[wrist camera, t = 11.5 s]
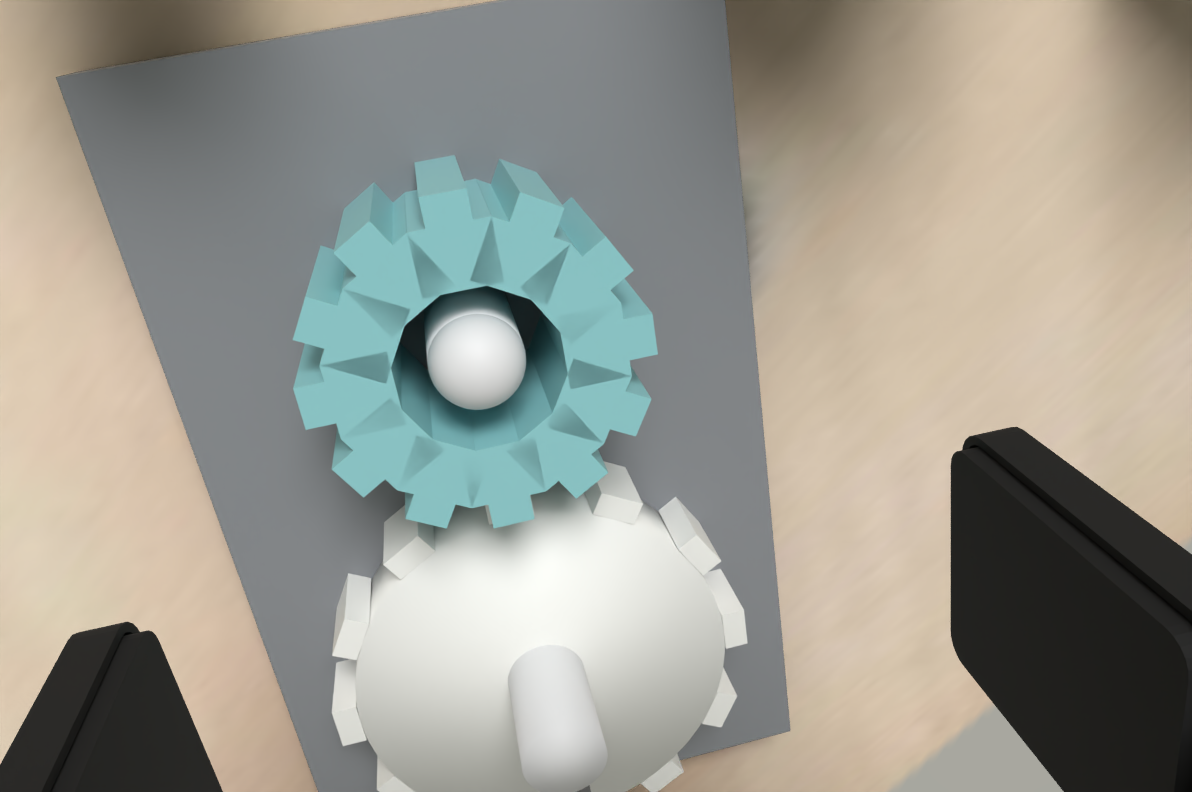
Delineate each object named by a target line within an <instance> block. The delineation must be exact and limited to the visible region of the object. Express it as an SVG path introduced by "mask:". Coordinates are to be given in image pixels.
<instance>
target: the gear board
mask: <svg viewBox="0 0 1192 792" xmlns="http://www.w3.org/2000/svg"><path fill="white" fill-rule="evenodd" d="M56 79H57V82H58V84H59V87H60V90H61V93H62V95H63V98H64V101H65V103H66V106H67V109H68V112H69V114H70V117H71V120H72V122H73V125H74V128H75V131H76V133H77V136H78V139H79V142H80V144H81V147H82V150H83V152H84V155H85V158H86V161H87V163H88V166H89V169H90V172H91V174H92V177H93V180H94V182H95V185H96V188H97V191H98V193H99V196H100V199H101V201H102V204H103V207H104V210H105V212H106V215H107V218H108V221H109V223H110V226H111V229H112V231H113V234H114V237H115V240H116V242H117V245H118V248H119V251H120V253H121V256H122V259H123V261H124V264H125V267H126V270H127V272H128V275H129V278H130V280H131V283H132V286H133V289H134V291H135V294H136V297H137V300H138V302H139V305H140V308H141V310H142V313H143V316H144V319H145V321H146V324H147V327H148V329H149V332H150V335H151V338H152V340H153V343H154V346H155V349H156V351H157V354H158V357H159V359H160V362H161V365H162V368H163V370H164V373H165V376H166V379H167V381H168V384H169V387H170V389H171V392H172V395H173V398H174V400H175V403H176V406H177V408H178V411H179V414H180V417H181V419H182V422H183V425H184V428H185V430H186V433H187V436H188V438H189V441H190V444H191V447H192V449H193V452H194V455H195V458H196V460H197V463H198V466H199V468H200V471H201V474H202V477H203V479H204V482H205V485H206V487H207V490H208V493H209V496H210V498H211V501H212V504H213V507H214V509H215V512H216V515H217V517H218V520H219V523H220V526H221V528H222V531H223V534H224V536H225V539H226V542H227V545H228V547H229V550H230V553H231V556H232V558H233V561H234V564H235V566H236V569H237V572H238V575H239V577H240V580H241V583H242V586H243V588H244V591H245V594H246V596H247V599H248V602H249V605H250V607H251V610H252V613H253V615H254V618H255V621H256V624H257V626H258V629H259V632H260V635H261V637H262V640H263V643H264V645H265V648H266V651H267V654H268V656H269V659H270V662H271V665H272V667H273V670H274V673H275V675H276V678H277V681H278V684H279V686H280V689H281V692H282V694H283V697H284V700H285V703H286V705H287V708H288V711H289V714H290V716H291V719H292V722H293V724H294V727H295V730H296V733H297V735H298V738H299V741H300V743H301V746H302V749H303V752H304V754H305V757H306V760H307V763H308V765H309V768H310V771H311V773H312V776H313V779H314V782H315V784H316V787H317V790H318V792H626V791H628V790H630V789H631V788H633V787H635V786H637V785H639V784H640V783H641V784H642V785H643V786H644V787H645V788H646V789H648V790H649V791H650V792H658V791H659V790H661V789H662V788H663V787H665V786H666V785H667V784H668V783H670V782H671V781H672V780H674V779H675V778H676V777H678V776H679V775H680V774H682V773H683V772H684V770H683V768H682V765H681V762H680V760H683V759H687V758H690V757H694V756H698V755H702V754H705V753H709V752H713V751H717V750H720V749H724V748H728V747H732V746H736V745H739V744H743V743H747V742H751V741H754V740H758V739H762V738H766V737H769V736H773V735H777V734H781V733H784V732H788V731H790V720H789V709H788V698H787V687H786V676H785V665H784V653H783V642H782V631H781V620H780V609H779V598H778V586H777V575H776V564H775V553H774V542H773V531H772V519H771V508H770V497H769V486H768V475H767V464H766V452H765V441H764V430H763V419H762V408H761V397H760V385H759V374H758V363H757V352H756V341H755V330H754V319H753V307H752V296H751V285H750V274H749V263H748V252H747V240H746V229H745V218H744V207H743V196H742V185H741V173H740V162H739V151H738V140H737V129H736V118H735V106H734V95H733V84H732V73H731V62H730V51H729V39H728V28H727V17H726V6H725V0H497V1H491V2H485V3H479V4H473V5H467V6H462V7H456V8H450V9H444V10H438V11H432V12H426V13H420V14H415V15H409V16H403V17H397V18H391V19H385V20H379V21H373V22H368V23H362V24H356V25H350V26H344V27H338V28H332V29H326V30H321V31H315V32H309V33H303V34H297V35H291V36H285V37H279V38H274V39H268V40H262V41H256V42H250V43H244V44H238V45H232V46H227V47H221V48H215V49H209V50H203V51H197V52H191V53H185V54H180V55H174V56H168V57H162V58H156V59H150V60H144V61H138V62H133V63H127V64H121V65H115V66H109V67H103V68H97V69H91V70H86V71H80V72H75V73H71V74H67V75H63V76H59V77H56ZM452 155H455V157H456V160H457V163H458V166H459V169H460V171H461V174H462V177H463V180H464V181H467V180H472V179H478V180H480V181H483V182H486V183H489V184H491V181H492V178H493V176H494V173H495V170H496V167H497V164H498V161H499V159H502V160H504V161H507V162H510V163H513V164H515V165H518V166H521V167H524V168H527V169H529V170H532V171H535V172H537V173H538V174H539V176H540V177H541V178H542V180H543V181H544V182H545V183H546V185H547V186H548V187H549V189H550V190H551V191H552V192H553V194H554V195H555V196H556V197H557V199H558V200H559V201H560V203H561V204H562V205H563V204H564V203H565V202H566V201H567V200H569V199H570V198H571V197H572V198H573V199H574V200H575V201H576V202H577V204H578V205H579V206H580V207H581V208H582V209H583V211H584V212H585V213H586V214H587V215H588V216H589V217H590V219H591V220H592V221H593V222H594V223H595V224H596V226H597V227H598V228H599V229H600V230H601V231H602V233H603V234H604V235H605V236H606V237H607V238H608V240H609V241H610V242H611V243H612V245H613V246H614V247H615V248H616V249H617V251H618V252H619V253H620V254H621V256H622V257H623V258H624V259H625V260H626V262H627V263H628V264H629V265H630V266H631V268H632V269H633V270H634V271H633V272H631V273H630V274H629V275H628V276H627V277H625V280H626V281H627V282H628V283H629V285H630V286H631V287H632V288H633V290H634V291H635V292H636V293H637V295H638V296H639V297H640V298H641V300H642V301H643V302H644V303H645V305H646V306H647V307H648V308H649V310H650V311H651V312H652V314H653V321H654V329H655V336H656V344H657V351H658V354H657V355H652V356H648V357H643V358H639V359H634V360H630V365H631V367H632V369H633V370H634V372H635V373H636V375H637V376H638V378H639V380H640V381H641V383H642V384H643V386H644V388H645V389H646V391H647V392H648V394H649V396H650V397H651V402H650V404H649V407H648V409H647V411H646V414H645V416H644V418H643V421H642V423H641V425H640V428H639V430H638V433H637V435H636V436H632V435H628V434H625V433H621V432H618V431H614V430H611V429H610V431H609V433H608V435H607V438H606V440H605V443H604V444H603V445H602V446H601V447H600V448H598V450H599V452H600V455H601V457H602V459H603V462H604V464H605V466H606V468H607V471H608V473H607V474H606V475H605V476H604V477H603V478H601V479H600V480H599V481H598V482H596V483H595V484H594V485H593V486H591V487H590V488H589V489H588V490H587V491H585V492H584V493H583V494H582V495H580V496H579V497H578V498H577V499H576V498H575V497H574V496H573V495H572V494H571V493H570V492H569V491H568V490H567V489H566V488H565V487H564V486H563V485H562V484H561V483H560V482H559V481H558V482H557V483H556V484H555V485H553V486H552V487H551V488H550V489H548V490H547V491H546V492H541V493H537V494H533V495H530V498H531V503H532V508H533V513H534V518H535V519H533V520H528V521H524V522H520V523H516V524H511V525H507V526H503V527H498V528H493V523H492V519H491V515H490V510H489V506H488V505H484V506H480V507H476V508H468V507H464V506H460V505H455V508H454V510H453V513H452V516H451V518H450V521H449V524H448V527H447V529H446V528H442V527H438V526H433V525H429V524H425V523H421V522H416V521H412V520H408V519H405V492H402V491H398V490H396V489H395V488H394V487H393V486H392V485H391V484H390V483H389V482H388V481H386V480H384V481H383V482H381V483H380V484H379V485H378V486H377V487H375V488H374V489H373V490H372V491H371V492H370V493H368V494H367V495H366V496H365V497H364V498H363V497H362V496H361V495H360V494H359V493H358V492H357V491H355V490H354V489H353V488H352V487H351V486H350V485H349V484H347V483H346V482H345V481H344V480H343V479H342V478H341V477H340V476H338V475H337V474H336V473H335V472H334V471H333V470H332V463H333V455H334V448H335V440H336V433H337V424H331V425H326V426H322V427H317V428H312V429H308V430H306V429H305V426H304V423H303V419H302V416H301V413H300V410H299V406H298V403H297V400H296V397H295V393H294V390H293V387H294V383H295V379H296V376H297V372H298V368H299V364H300V360H301V356H302V352H303V349H304V345H305V343H302V342H298V341H295V340H293V337H294V334H295V330H296V327H297V323H298V320H299V317H300V313H301V310H302V306H303V303H304V299H305V296H306V293H307V289H308V286H309V283H310V279H311V276H312V272H313V269H314V266H315V262H316V259H317V256H318V252H319V249H320V246H324V247H327V248H330V249H334V248H335V244H336V239H337V235H338V231H339V227H340V223H341V219H342V215H343V211H344V208H345V207H346V206H348V205H349V204H350V203H351V202H352V201H353V200H354V199H355V198H357V197H358V196H359V195H360V194H361V193H362V192H363V191H365V190H366V189H367V188H368V187H369V186H370V185H371V184H372V183H375V184H376V185H377V186H378V187H379V188H380V189H381V190H382V191H383V192H384V193H385V195H386V196H387V197H388V198H389V199H390V200H391V201H392V202H394V201H395V200H397V199H398V198H399V197H400V196H401V195H402V194H403V193H405V192H409V191H414V190H417V182H416V172H415V163H414V162H420V161H425V160H430V159H436V158H441V157H447V156H452ZM540 316H541V312H540V309H539V308H538V307H537V306H536V305H535V303H534V302H533V301H532V300H531V299H527V298H524V297H521V296H518V295H515V294H512V293H509V292H505V291H502V290H499V289H496V288H493V287H490V286H483V287H478V288H473V289H468V290H463V291H458V292H453V293H448V294H443V295H440V296H439V297H437V298H436V299H435V300H434V301H433V302H432V303H430V304H429V305H428V306H427V307H426V308H425V309H423V310H422V311H421V312H420V313H419V314H418V315H416V316H415V317H414V318H413V319H412V320H411V321H409V322H408V323H407V324H406V325H405V326H404V329H403V332H402V335H401V338H400V342H401V344H402V345H403V346H404V347H405V348H406V349H407V350H408V351H409V352H410V353H411V354H412V355H413V356H414V357H415V358H416V359H417V360H418V361H419V362H420V363H421V364H422V365H423V366H424V367H425V368H426V369H427V370H428V371H429V374H430V378H431V380H432V382H433V384H434V386H435V387H436V389H437V390H438V392H439V393H440V394H441V395H442V396H443V397H444V398H445V399H447V400H448V401H450V402H451V403H453V404H455V405H457V406H459V407H462V408H466V409H472V410H482V409H488V408H492V407H495V406H497V405H499V404H501V403H503V402H504V401H506V400H507V399H509V398H510V397H511V396H512V395H513V394H514V392H515V391H516V390H517V389H518V387H519V385H520V384H521V382H522V380H523V377H524V373H525V369H526V353H525V351H526V350H527V349H528V348H529V345H530V342H531V340H532V337H533V334H534V332H535V329H536V326H537V324H538V321H539V318H540Z"/></svg>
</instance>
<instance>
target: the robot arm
mask: <svg viewBox="0 0 1192 792" xmlns="http://www.w3.org/2000/svg"><path fill="white" fill-rule="evenodd" d="M951 638H952V642H953V646H954V649H955V651H956V654H957V656H958V658H959V660H960V661H961V663H962V664H963V666H964V667H965V668H966V669H967V671H968V672H969V673H970V674H971V676H972V677H973V678H974V679H975V681H976V682H977V683H978V684H979V686H980V687H981V688H982V689H983V691H984V692H985V693H986V694H987V696H988V697H989V698H990V699H991V701H992V702H993V703H994V705H995V706H996V707H997V708H998V710H999V711H1000V712H1001V713H1002V714H1003V716H1004V717H1005V718H1006V719H1007V721H1008V722H1009V723H1010V725H1011V726H1012V727H1013V728H1014V729H1015V731H1016V732H1017V733H1018V735H1019V736H1020V737H1021V738H1022V740H1023V741H1024V742H1025V743H1026V745H1027V746H1028V747H1029V748H1030V750H1031V751H1032V752H1033V753H1034V755H1035V756H1036V757H1037V758H1038V760H1039V761H1040V762H1041V764H1042V765H1043V766H1044V767H1045V769H1046V770H1047V771H1048V772H1049V774H1050V775H1051V776H1052V777H1053V779H1054V780H1055V781H1056V782H1057V784H1058V785H1059V786H1060V787H1061V789H1062V790H1063V791H1064V792H1192V554H1190V553H1189V552H1188V551H1186V550H1185V549H1184V548H1182V547H1181V546H1180V545H1178V544H1177V543H1176V542H1174V541H1173V540H1171V539H1170V538H1169V537H1167V536H1166V535H1165V534H1163V533H1162V532H1161V531H1159V530H1158V529H1157V528H1155V527H1154V526H1153V525H1151V524H1150V523H1148V522H1147V521H1146V520H1144V519H1143V518H1142V517H1140V516H1139V515H1138V514H1136V513H1135V512H1134V511H1132V510H1131V509H1129V508H1128V507H1127V506H1125V505H1124V504H1123V503H1121V502H1120V501H1119V500H1117V499H1116V498H1115V497H1113V496H1112V495H1111V494H1109V493H1108V492H1106V491H1105V490H1104V489H1102V488H1101V487H1100V486H1098V485H1097V484H1096V483H1094V482H1093V481H1092V480H1090V479H1089V478H1088V477H1086V476H1085V475H1083V474H1082V473H1081V472H1079V471H1078V470H1077V469H1075V468H1074V467H1073V466H1071V465H1070V464H1069V463H1067V462H1066V461H1064V460H1063V459H1062V458H1060V457H1059V456H1058V455H1056V454H1055V453H1054V452H1052V451H1051V450H1050V449H1048V448H1047V447H1046V446H1044V445H1043V444H1041V443H1040V442H1039V441H1037V440H1036V439H1035V438H1033V437H1032V436H1031V435H1029V434H1028V433H1027V432H1025V431H1024V430H1022V429H1020V428H1018V427H1010V428H1006V429H1001V430H997V431H992V432H987V433H983V434H978V435H974V436H969V437H968V438H967V439H966V440H965V442H964V445H963V449H962V451H957V452H956V453H954V454H953V457H952V460H951ZM0 792H223V791H222V789H221V786H220V784H219V782H218V779H217V777H216V775H215V772H214V770H213V768H212V765H211V763H210V760H209V758H208V756H207V753H206V751H205V749H204V746H203V744H202V742H201V739H200V737H199V734H198V732H197V730H196V727H195V725H194V723H193V720H192V718H191V716H190V713H189V711H188V708H187V706H186V704H185V701H184V699H183V697H182V694H181V692H180V690H179V687H178V685H177V682H176V680H175V678H174V675H173V673H172V671H171V668H170V666H169V664H168V661H167V659H166V656H165V654H164V652H163V649H162V647H161V645H160V642H159V640H158V638H157V637H156V635H155V634H154V633H153V632H152V631H144V632H139V630H138V628H137V627H136V626H135V625H134V624H133V623H130V622H124V623H120V624H115V625H111V626H106V627H101V628H97V629H92V630H88V631H83V632H79V633H76V634H73V635H72V636H71V637H70V639H69V640H68V641H67V643H66V645H65V647H64V649H63V650H62V652H61V654H60V656H59V658H58V660H57V661H56V663H55V665H54V667H53V669H52V671H51V673H50V674H49V676H48V678H47V680H46V682H45V684H44V685H43V687H42V689H41V691H40V693H39V695H38V696H37V698H36V700H35V702H34V704H33V706H32V707H31V709H30V711H29V713H28V715H27V717H26V718H25V720H24V722H23V724H22V726H21V728H20V729H19V731H18V733H17V735H16V737H15V739H14V741H13V742H12V744H11V746H10V748H9V750H8V752H7V753H6V755H5V757H4V759H3V761H2V763H1V764H0Z"/></svg>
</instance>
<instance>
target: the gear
mask: <svg viewBox="0 0 1192 792" xmlns="http://www.w3.org/2000/svg"><path fill="white" fill-rule="evenodd" d="M414 163H415V172H416V182H417V190H414V191H409V192H405V193H403V194H402V195H401V196H400V197H399V198H398V199H397V200H395V201H394V202H392V201H391V200H390V199H389V198H388V197H387V196H386V195H385V193H384V192H383V191H382V190H381V189H380V188H379V187H378V186H377V185H376V184H375V183H372V184H371V185H370V186H369V187H368V188H367V189H366V190H365V191H363V192H362V193H361V194H360V195H359V196H358V197H357V198H355V199H354V200H353V201H352V202H351V203H350V204H349V205H348V206H346V207H345V208H344V211H343V215H342V219H341V223H340V227H339V231H338V235H337V239H336V244H335V248H334V249H330V248H327V247H324V246H320V249H319V252H318V256H317V259H316V262H315V266H314V269H313V272H312V276H311V279H310V283H309V286H308V289H307V293H306V296H305V299H304V303H303V306H302V310H301V313H300V317H299V320H298V323H297V327H296V330H295V334H294V337H293V340H295V341H298V342H302V343H305V345H304V349H303V352H302V356H301V360H300V364H299V368H298V372H297V376H296V379H295V383H294V387H293V390H294V393H295V397H296V400H297V403H298V406H299V410H300V413H301V416H302V419H303V423H304V426H305V429H306V430H308V429H312V428H317V427H322V426H326V425H331V424H337V433H336V440H335V448H334V455H333V463H332V470H333V471H334V472H335V473H336V474H337V475H338V476H340V477H341V478H342V479H343V480H344V481H345V482H346V483H347V484H349V485H350V486H351V487H352V488H353V489H354V490H355V491H357V492H358V493H359V494H360V495H361V496H362V497H363V498H364V497H365V496H366V495H367V494H368V493H370V492H371V491H372V490H373V489H374V488H375V487H377V486H378V485H379V484H380V483H381V482H383V481H384V480H386V481H388V482H389V483H390V484H391V485H392V486H393V487H394V488H395V489H396V490H398V491H402V492H405V519H408V520H412V521H416V522H421V523H425V524H429V525H433V526H438V527H442V528H446V529H447V527H448V524H449V521H450V518H451V516H452V513H453V510H454V508H455V505H460V506H464V507H468V508H476V507H480V506H484V505H488V506H489V510H490V515H491V519H492V523H493V528H498V527H503V526H507V525H511V524H516V523H520V522H524V521H528V520H533V519H535V518H534V513H533V508H532V503H531V498H530V495H533V494H537V493H541V492H546V491H547V490H548V489H550V488H551V487H552V486H553V485H555V484H556V483H557V482H558V481H559V482H560V483H561V484H562V485H563V486H564V487H565V488H566V489H567V490H568V491H569V492H570V493H571V494H572V495H573V496H574V497H575V498H576V499H577V498H578V497H579V496H580V495H582V494H583V493H584V492H585V491H587V490H588V489H589V488H590V487H591V486H593V485H594V484H595V483H596V482H598V481H599V480H600V479H601V478H603V477H604V476H605V475H606V474H607V473H608V471H607V468H606V466H605V464H604V462H603V459H602V457H601V455H600V452H599V450H598V448H600V447H601V446H602V445H603V444H604V443H605V440H606V438H607V435H608V433H609V431H610V429H611V430H614V431H618V432H621V433H625V434H628V435H632V436H636V435H637V433H638V430H639V428H640V425H641V423H642V421H643V418H644V416H645V414H646V411H647V409H648V407H649V404H650V402H651V397H650V396H649V394H648V392H647V391H646V389H645V388H644V386H643V384H642V383H641V381H640V380H639V378H638V376H637V375H636V373H635V372H634V370H633V369H632V367H631V365H630V360H634V359H639V358H643V357H648V356H652V355H657V354H658V351H657V344H656V336H655V329H654V321H653V314H652V312H651V311H650V310H649V308H648V307H647V306H646V305H645V303H644V302H643V301H642V300H641V298H640V297H639V296H638V295H637V293H636V292H635V291H634V290H633V288H632V287H631V286H630V285H629V283H628V282H627V281H626V280H625V277H627V276H628V275H629V274H630V273H631V272H633V271H634V270H633V269H632V268H631V266H630V265H629V264H628V263H627V262H626V260H625V259H624V258H623V257H622V256H621V254H620V253H619V252H618V251H617V249H616V248H615V247H614V246H613V245H612V243H611V242H610V241H609V240H608V238H607V237H606V236H605V235H604V234H603V233H602V231H601V230H600V229H599V228H598V227H597V226H596V224H595V223H594V222H593V221H592V220H591V219H590V217H589V216H588V215H587V214H586V213H585V212H584V211H583V209H582V208H581V207H580V206H579V205H578V204H577V202H576V201H575V200H574V199H573V198H572V197H571V198H570V199H569V200H567V201H566V202H565V203H564V204H563V205H562V204H561V203H560V201H559V200H558V199H557V197H556V196H555V195H554V194H553V192H552V191H551V190H550V189H549V187H548V186H547V185H546V183H545V182H544V181H543V180H542V178H541V177H540V176H539V174H538V173H537V172H535V171H532V170H529V169H527V168H524V167H521V166H518V165H515V164H513V163H510V162H507V161H504V160H502V159H499V161H498V164H497V167H496V170H495V173H494V176H493V178H492V181H491V184H489V183H486V182H483V181H480V180H478V179H472V180H467V181H464V180H463V177H462V174H461V171H460V169H459V166H458V163H457V160H456V157H455V155H452V156H447V157H441V158H436V159H430V160H425V161H420V162H414ZM483 286H490V287H493V288H496V289H499V290H502V291H505V292H509V293H512V294H515V295H518V296H521V297H524V298H527V299H531V300H532V301H533V302H534V303H535V305H536V306H537V307H538V308H539V309H540V312H541V316H540V318H539V321H538V324H537V326H536V329H535V332H534V334H533V337H532V340H531V342H530V345H529V348H528V349H527V350H526V351H525V353H526V369H525V373H524V377H523V380H522V382H521V384H520V385H519V387H518V389H517V390H516V391H515V392H514V394H513V395H512V396H511V397H510V398H509V399H507V400H506V401H504V402H503V403H501V404H499V405H497V406H495V407H492V408H488V409H482V410H472V409H466V408H462V407H459V406H457V405H455V404H453V403H451V402H450V401H448V400H447V399H445V398H444V397H443V396H442V395H441V394H440V393H439V392H438V390H437V389H436V387H435V386H434V384H433V382H432V380H431V378H430V374H429V371H428V370H427V369H426V368H425V367H424V366H423V365H422V364H421V363H420V362H419V361H418V360H417V359H416V358H415V357H414V356H413V355H412V354H411V353H410V352H409V351H408V350H407V349H406V348H405V347H404V346H403V345H402V344H401V342H400V338H401V335H402V332H403V329H404V326H405V325H406V324H407V323H408V322H409V321H411V320H412V319H413V318H414V317H415V316H416V315H418V314H419V313H420V312H421V311H422V310H423V309H425V308H426V307H427V306H428V305H429V304H430V303H432V302H433V301H434V300H435V299H436V298H437V297H439V296H440V295H443V294H448V293H453V292H458V291H463V290H468V289H473V288H478V287H483Z"/></svg>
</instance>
